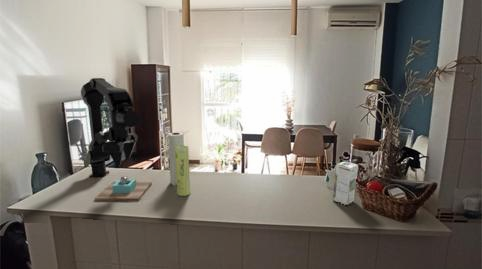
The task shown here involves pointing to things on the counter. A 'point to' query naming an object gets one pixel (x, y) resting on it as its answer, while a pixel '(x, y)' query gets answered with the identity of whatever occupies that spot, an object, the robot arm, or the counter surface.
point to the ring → (124, 186)
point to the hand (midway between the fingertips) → (123, 163)
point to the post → (124, 180)
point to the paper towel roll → (174, 139)
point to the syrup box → (345, 182)
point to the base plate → (133, 196)
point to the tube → (182, 170)
